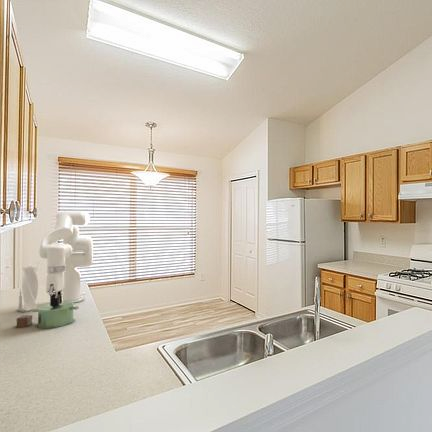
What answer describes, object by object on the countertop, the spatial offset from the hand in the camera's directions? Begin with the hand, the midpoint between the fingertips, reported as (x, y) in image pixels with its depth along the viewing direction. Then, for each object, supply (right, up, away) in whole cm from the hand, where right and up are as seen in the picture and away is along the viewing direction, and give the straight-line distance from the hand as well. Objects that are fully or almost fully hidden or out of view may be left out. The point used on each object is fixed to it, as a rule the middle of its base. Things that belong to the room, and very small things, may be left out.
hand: (56, 304), depth 165 cm
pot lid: (0, -1, 0) cm, 1 cm away
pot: (0, -10, 0) cm, 10 cm away
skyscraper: (-33, -10, +23) cm, 42 cm away
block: (-13, -10, -4) cm, 17 cm away
